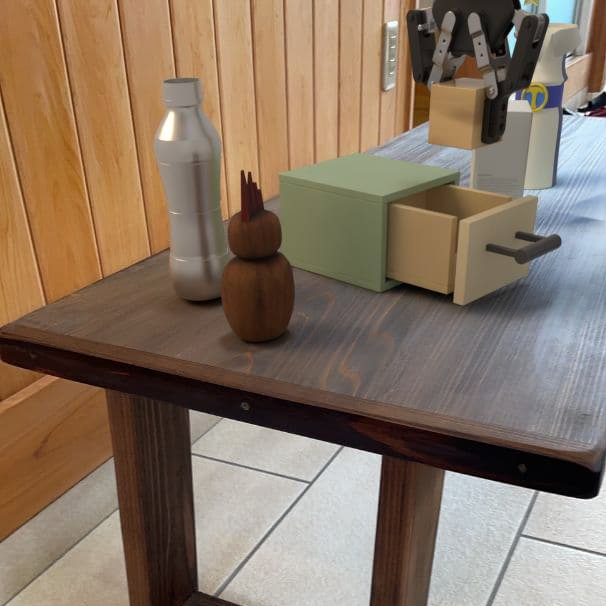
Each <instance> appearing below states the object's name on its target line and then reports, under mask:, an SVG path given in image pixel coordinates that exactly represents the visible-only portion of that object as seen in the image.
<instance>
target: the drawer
mask: <svg viewBox="0 0 606 606" xmlns="http://www.w3.org/2000/svg"><path fill="white" fill-rule="evenodd" d="M538 203H539V196H536V195H531V194H526V195H523V197H522V198H519V199H516V200H514V201H512V196H508V195H503V194H498V193H493V192H488V191H482V190H477V189H472V188H469V187H467V186H462V185H459V186H456V185H451V184H443V185H439V186H436V187H433V188H430V189H427V190H424V191H421V192H418V193H415V194H412V195H409V196H406V197H403V198H400V199H397V200H394V201H391V202H388V203H387V239H386V273H385V277H388V278H391V279H395V280H398V281H402V282H404V283H406V284H409V285H412V286H416V287H420V288H423V289H427V290H430V291H433V292H438V293H441V294H444V295H448V294H451V293H453V302H452V303H453V304H456V305H460V306H465V305H467V304H470V303H472V302H474V301H476V300H479V299H480V298H482V297H485V296H486V295H488V294H491V293H493V292H495V291H498V290H499V289H502V288H504V287H505V286H508V285H510V284H512V283H514V282H516V281H518V280H520V279H523V278H525V277H528V276H529V272H530V265H531V262H532V261H534V260H536V259H538V258H540V257H542V256H544V255H547V254H549V253H552V252H554V251H556V250H557V249H560V247H561V246H562V242H563V241H562V237H561V236H560V235H559V234H557V233H553V234H551V235H548V236H543V235H539V234H535V228H536V227H535V226H536V218H537V212H538V211H537V210H538V205H539V204H538Z"/></svg>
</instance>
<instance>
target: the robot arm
mask: <svg viewBox="0 0 606 606" xmlns="http://www.w3.org/2000/svg"><path fill="white" fill-rule="evenodd" d="M405 17H406V18H405V20H406V30H407V37H408V48H409V55H410V64H411V72H412V73H411V74H412V79H413V81H414V83H416V84H422V85H424V86H426V87H427V89H428V91H429V92H430V94H431V85H432V84H436V83H441V82H446V81H450V80H455V79H456V77H457V75H458V71H459V69H460V67H461V66H462V65H463V64H464V62H465V60H466V57H467V56H469V57H470V58H475V59H476V65H477V69H478V72H480V74H482V80H484V85H485V90H486V95H487V97H488V99H485V100H484V110H483V121H482V132H481V142H482V143H484V144H492V143H495V142H498V141H499V139H500V136H503V134H504V132H505V128H506V117H507V109H508V100H510V97H511V96H512V95H513V94H516V92H518V91H521V90H525V89H527V88H529V86H530V84H531V81H532V78H533V75H534V71H535V68H536V65H537V61H538V58H539V55H540V52H541V48H542V45H543V42H544V39H545V35H546V32H547V29H548V25H549V23H550V16H549V14H548V13H546V12H542V13H534V12H531V11H528V10H525V9H523V8H522V4H521V0H433V2H432V5H431V6H427V7H420V8H414V9H409V10H408V11H407V12H406V16H405ZM436 29H438V32H439V37H438V41H436V33H435V31H436ZM513 29H514V32H513V37H514V38H515V42H516V43H515V42H514V47H513V51H512V54H511V50H510V44H509V37H508V36H509V35H510V33H511V32H512V30H513ZM493 55H494V57H493ZM430 98H431V96H430ZM429 115H430V113H429Z"/></svg>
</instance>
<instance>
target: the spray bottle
mask: <svg viewBox="0 0 606 606" xmlns="http://www.w3.org/2000/svg"><path fill="white" fill-rule="evenodd" d="M531 3H532V4H533V5H535V7H539V0H524V2H523V7H524V6H526V5H527V6H528V5H529V4H531ZM582 42H583V39H582V36H581V33H580V30H579V26H578V24H576V23H568V22H549V25H548V29H547V32H546V35H545V39H544V42H543V45H542V48H541V52H540V55H539V58H538V61H537V65H536V68H535V71H534V75H533V78H532V81H531V84H530V86H529V88H527V89H525V90H521V91H518V92H516V93H515V95H514V100H528V102H529V104H530V106H531V109H532V111H533V117H532V125H531V133H530V141H529V150H528V158H527V166H526V174H525V182H524V190H544V189H550V188H553V187H555V186H556V185H557V178H558V166H559V156H560V155H559V154H560V147H561V138H562V131H563V122H564V111H563V106H562V104H563V98H564V97H563V96H564V90H565V83H566V82H567V81H568V80H569V76H568V73H567V70H566V69H567V68H566V60H567V57H568V54H569V53H571V52H573V51H574V50H577V48H578V47H579V46H580V45H581V44H582ZM515 43H516V41H515V42H514V44H515Z"/></svg>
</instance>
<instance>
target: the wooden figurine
mask: <svg viewBox="0 0 606 606" xmlns="http://www.w3.org/2000/svg"><path fill="white" fill-rule="evenodd" d="M227 225H228V226H227V243H228V248H229V250H230V252H231V253H232V254H233V255H234V256H233V257H232V258H231V260H230V261H229V262H228V263H227V265H226V266H225V267H224V271H223V274H222V277H221V296H220V297H221V305H222V310H223V312H224V316H225V319H226V321H227V322H228V323H227V324H228V325H229V327H230V328H231V330H232V332H233V333H234V334H235V336H237V337H239V338H240V339H241V340H242V341H243V340H244V341H246V342H250V343H252V342H253V343H260V342H261V343H262V342H266V341H269V340H270V341H271V340H273V339H276V338H278V337H280V336H281V335H282V334H283V333H285V331H286V329H287V328H288V326H289V323H290V321H291V319H292V316H293V315H292V314H293V311H294V307H295V298H296V286H295V285H296V284H295V278H294V277H295V276H294V272H293V268H292V266H291V265H290V262H289V261H288V259H287V258H286V257H285V255H283V254H282V251H279V250H280V248H281V247H282V231H281V220H280V218H279V216H278V215H277V214H276V213H275V212H274V211H272V210H268V209H265V205H264V198H263V194H262V189H261V188H258V183H257V181H253V175H252V171H247V178H246V173H245V169H240V210H239V211H237V212H235V213H234V214H232V216H231V218H230V219H229V221H228V224H227Z"/></svg>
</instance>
